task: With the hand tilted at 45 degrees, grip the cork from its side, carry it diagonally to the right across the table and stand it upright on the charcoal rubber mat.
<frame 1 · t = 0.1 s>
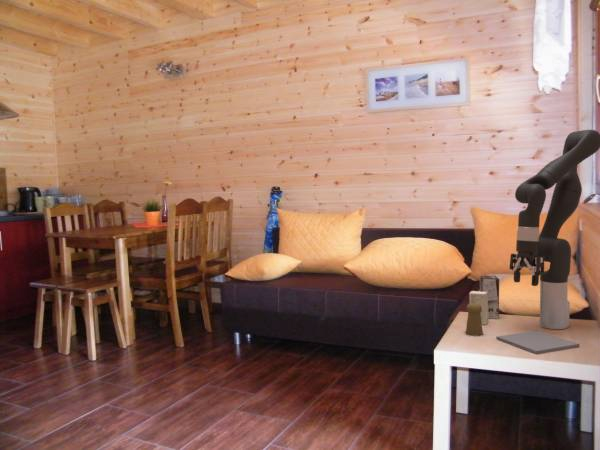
hand: (525, 283, 188), 17 cm above the table, tool pointing down, fingers open, 8 cm apart
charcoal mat: (536, 342, 174), on the table
cork: (474, 334, 188), on the table
skincare box: (478, 323, 202), on the table
coffee box: (489, 316, 212), on the table
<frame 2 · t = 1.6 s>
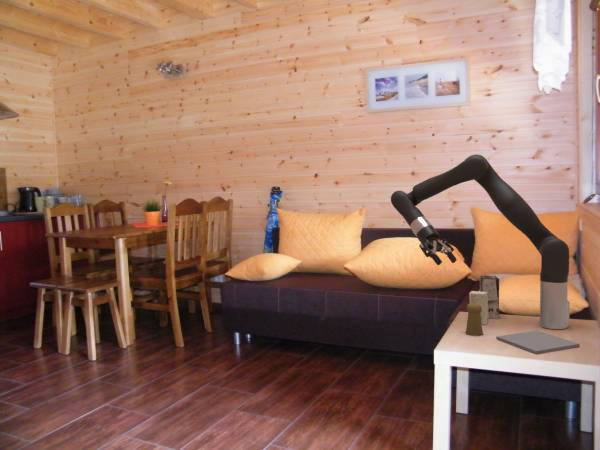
hand: (447, 262, 195), 25 cm above the table, tool tilted 45°, fingers open, 8 cm apart
nothing on the table moved.
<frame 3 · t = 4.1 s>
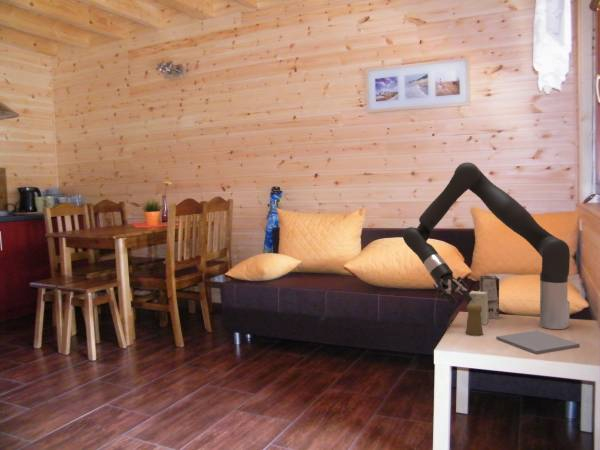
hand: (462, 302, 191), 10 cm above the table, tool tilted 45°, fingers open, 8 cm apart
nothing on the table moved.
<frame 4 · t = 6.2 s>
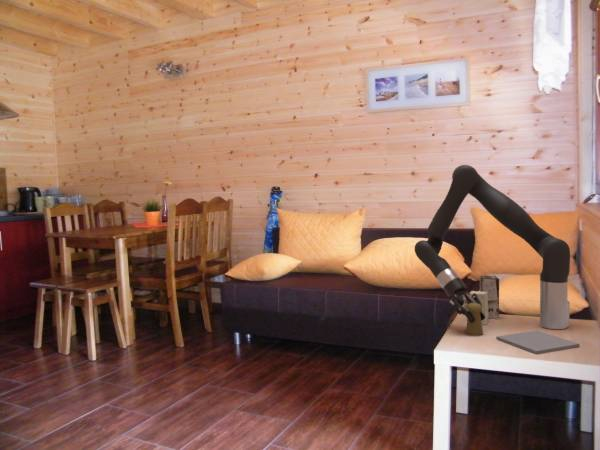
hand: (478, 320, 186), 5 cm above the table, tool tilted 45°, fingers closed on cork, 5 cm apart
cork: (474, 334, 188), on the table, touching gripper
everything else where it was.
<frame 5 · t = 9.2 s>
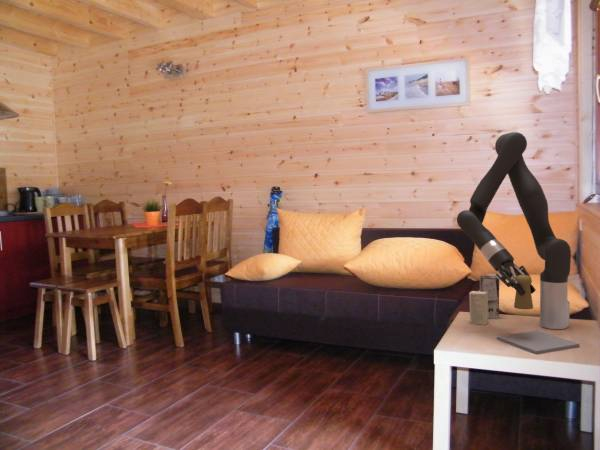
hand: (528, 293, 175), 17 cm above the table, tool tilted 45°, fingers closed on cork, 5 cm apart
cork: (523, 308, 176), point 11 cm above the table, touching gripper
everything else where it was.
when the fingers open (8 cm above the table, at t = 12.3 s): cork drops 1 cm, resting on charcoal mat.
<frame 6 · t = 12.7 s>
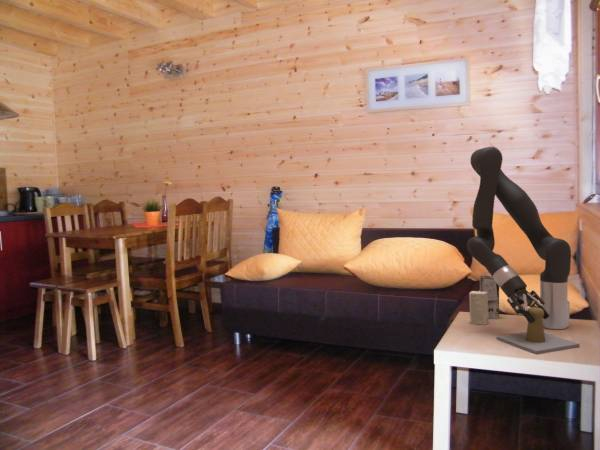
hand: (540, 319, 173), 8 cm above the table, tool tilted 45°, fingers open, 8 cm apart
cork: (535, 340, 174), point 1 cm above the table, touching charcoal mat
everything else where it was.
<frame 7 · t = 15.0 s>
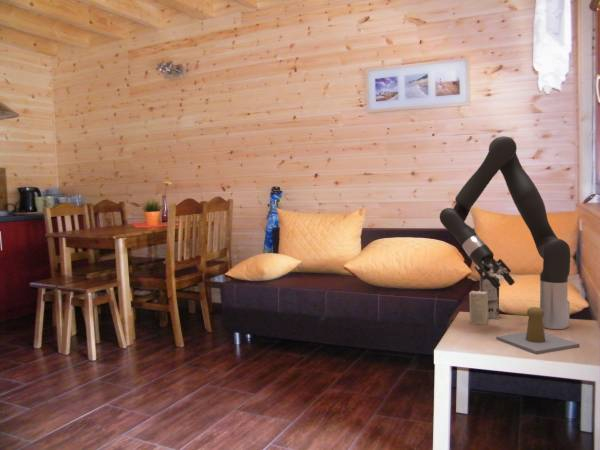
hand: (505, 285, 183), 18 cm above the table, tool tilted 45°, fingers open, 8 cm apart
nothing on the table moved.
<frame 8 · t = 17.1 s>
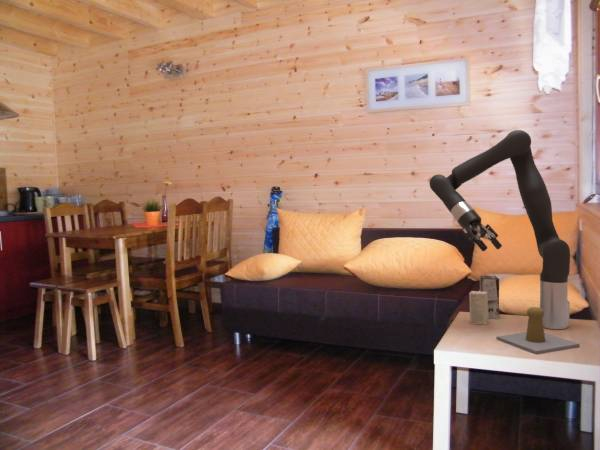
hand: (492, 248, 185), 31 cm above the table, tool tilted 45°, fingers open, 8 cm apart
nothing on the table moved.
at the end: cork inside the target area on the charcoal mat (0.4 cm from its centre), point 0.8 cm above the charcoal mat's base; cork tilted 0°; the gripper is holding nothing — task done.
